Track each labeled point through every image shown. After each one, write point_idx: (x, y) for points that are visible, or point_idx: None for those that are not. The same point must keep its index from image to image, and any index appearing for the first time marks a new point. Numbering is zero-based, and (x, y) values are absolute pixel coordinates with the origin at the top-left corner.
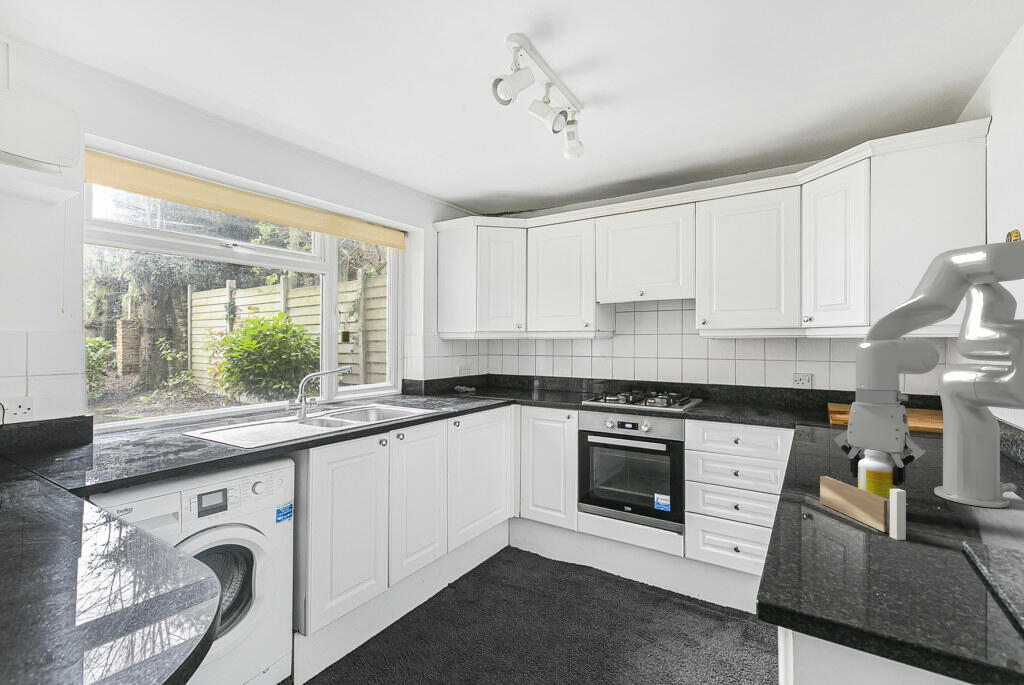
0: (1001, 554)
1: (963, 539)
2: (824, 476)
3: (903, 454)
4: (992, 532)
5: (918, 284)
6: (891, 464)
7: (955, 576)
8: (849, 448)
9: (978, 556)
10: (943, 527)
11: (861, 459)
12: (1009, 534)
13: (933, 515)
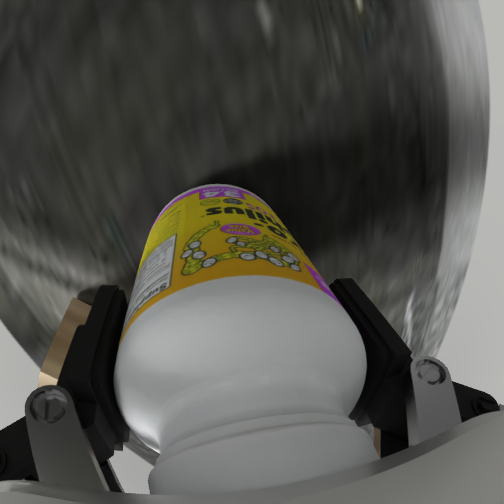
0: (444, 310)
1: (412, 286)
2: (43, 380)
3: (458, 424)
4: (463, 172)
5: None
6: (347, 416)
7: (367, 426)
8: (18, 465)
9: (411, 351)
10: (388, 229)
11: (148, 444)
12: (482, 159)
13: (364, 110)
